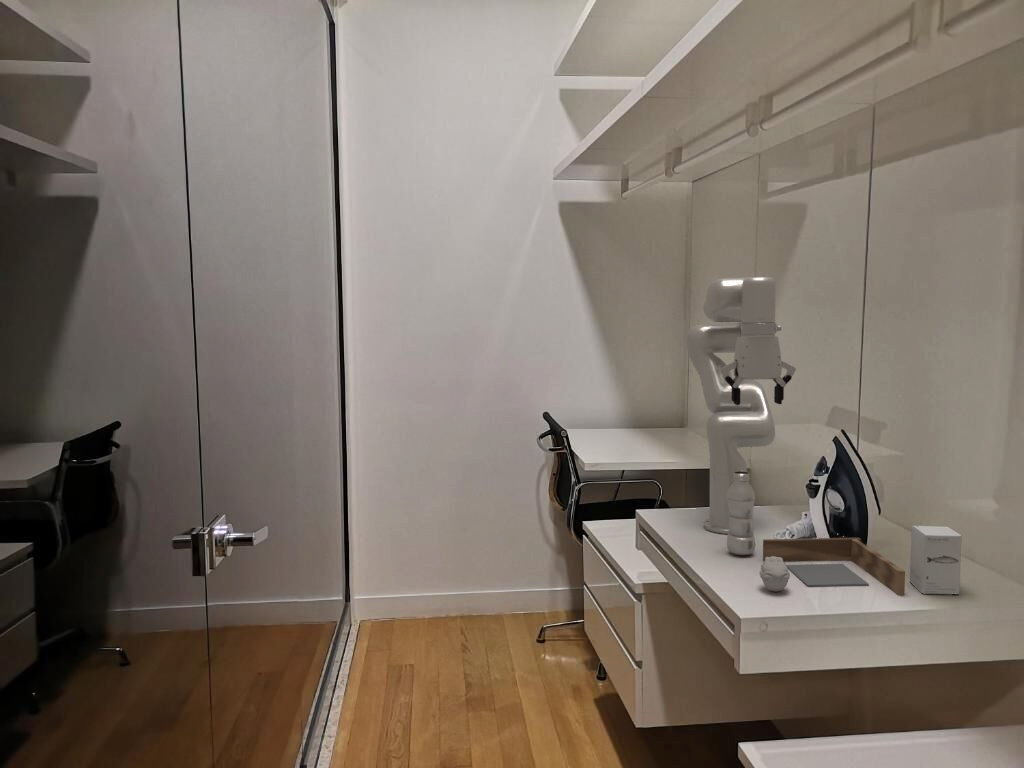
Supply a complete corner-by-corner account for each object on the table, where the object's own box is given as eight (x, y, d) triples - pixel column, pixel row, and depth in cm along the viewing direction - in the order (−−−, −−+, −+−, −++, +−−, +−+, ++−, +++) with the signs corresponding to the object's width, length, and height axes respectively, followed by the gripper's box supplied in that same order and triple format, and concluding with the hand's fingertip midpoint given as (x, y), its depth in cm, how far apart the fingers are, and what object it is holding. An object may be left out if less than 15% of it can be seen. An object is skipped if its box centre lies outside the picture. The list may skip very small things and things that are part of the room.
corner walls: (763, 560, 182) (763, 539, 181) (858, 558, 182) (858, 537, 181) (800, 597, 158) (800, 573, 158) (909, 594, 158) (910, 571, 158)
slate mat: (785, 566, 177) (785, 564, 177) (842, 565, 177) (842, 563, 177) (807, 586, 164) (807, 585, 164) (868, 585, 164) (868, 583, 164)
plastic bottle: (756, 559, 183) (757, 475, 181) (727, 557, 184) (727, 475, 182) (754, 550, 189) (754, 470, 187) (725, 549, 190) (725, 469, 188)
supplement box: (921, 594, 158) (923, 534, 157) (908, 582, 166) (910, 524, 164) (960, 596, 157) (962, 535, 156) (945, 583, 165) (947, 525, 163)
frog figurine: (785, 584, 166) (785, 552, 165) (793, 596, 159) (794, 563, 158) (756, 584, 166) (756, 552, 166) (763, 596, 159) (763, 563, 159)
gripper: (789, 329, 183) (788, 401, 185) (716, 331, 183) (716, 402, 185) (801, 330, 175) (800, 405, 177) (725, 331, 175) (724, 406, 177)
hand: (757, 403), depth 181 cm, fingers open, 9 cm apart
